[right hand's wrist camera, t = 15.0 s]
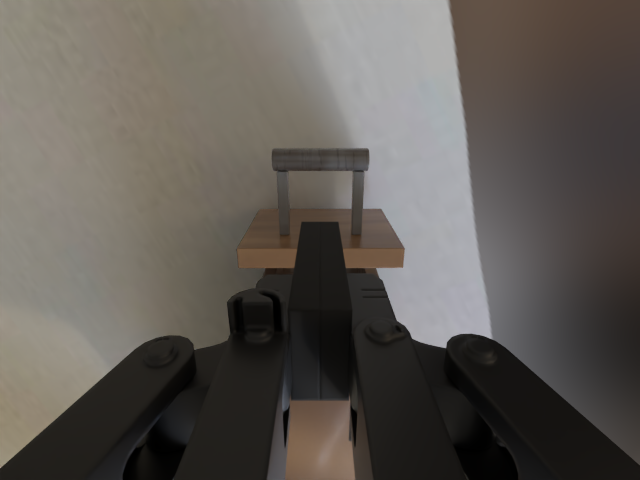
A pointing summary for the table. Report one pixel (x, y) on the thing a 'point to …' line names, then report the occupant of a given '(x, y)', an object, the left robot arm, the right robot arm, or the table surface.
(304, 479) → the cabinet
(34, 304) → the table surface
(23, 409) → the table surface
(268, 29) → the table surface
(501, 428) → the right robot arm
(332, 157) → the drawer
